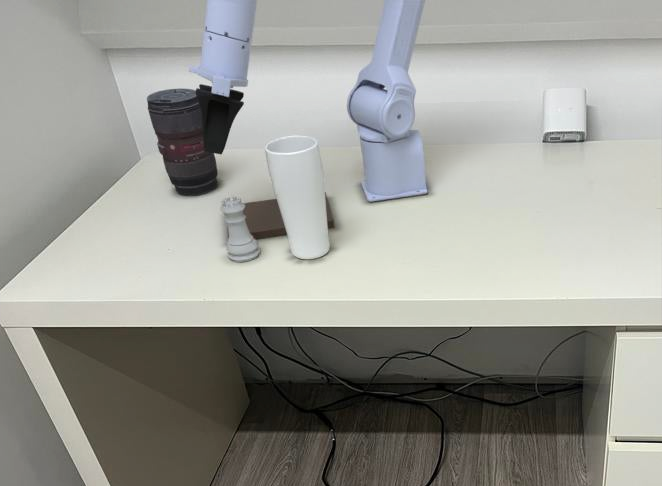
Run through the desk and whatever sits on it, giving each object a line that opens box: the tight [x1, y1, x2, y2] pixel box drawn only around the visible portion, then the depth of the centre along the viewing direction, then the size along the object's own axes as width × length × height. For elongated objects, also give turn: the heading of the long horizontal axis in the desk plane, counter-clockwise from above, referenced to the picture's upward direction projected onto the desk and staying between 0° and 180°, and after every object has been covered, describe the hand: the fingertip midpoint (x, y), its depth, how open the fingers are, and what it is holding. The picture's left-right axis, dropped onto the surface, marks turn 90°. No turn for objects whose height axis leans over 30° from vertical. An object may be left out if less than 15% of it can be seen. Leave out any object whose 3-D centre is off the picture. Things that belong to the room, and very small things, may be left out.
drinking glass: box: [264, 135, 331, 260], centre depth 98 cm, size 7×7×15 cm
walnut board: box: [227, 191, 336, 240], centre depth 111 cm, size 15×11×1 cm
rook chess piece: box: [219, 196, 261, 263], centre depth 100 cm, size 4×4×8 cm
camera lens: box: [146, 88, 219, 197], centre depth 118 cm, size 8×8×15 cm
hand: (214, 147), depth 97 cm, fingers open, 7 cm apart
